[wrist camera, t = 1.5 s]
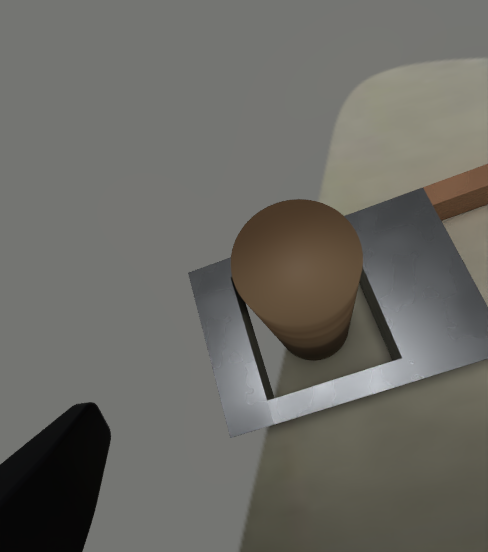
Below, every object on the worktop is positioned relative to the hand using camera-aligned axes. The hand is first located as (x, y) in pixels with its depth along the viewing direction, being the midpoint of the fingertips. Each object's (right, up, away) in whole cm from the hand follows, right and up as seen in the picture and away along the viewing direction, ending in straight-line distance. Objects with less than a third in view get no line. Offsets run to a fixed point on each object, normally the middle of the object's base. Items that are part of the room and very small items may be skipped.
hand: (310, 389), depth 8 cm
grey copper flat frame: (+7, +1, +12) cm, 14 cm away
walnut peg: (+2, 0, +12) cm, 13 cm away
